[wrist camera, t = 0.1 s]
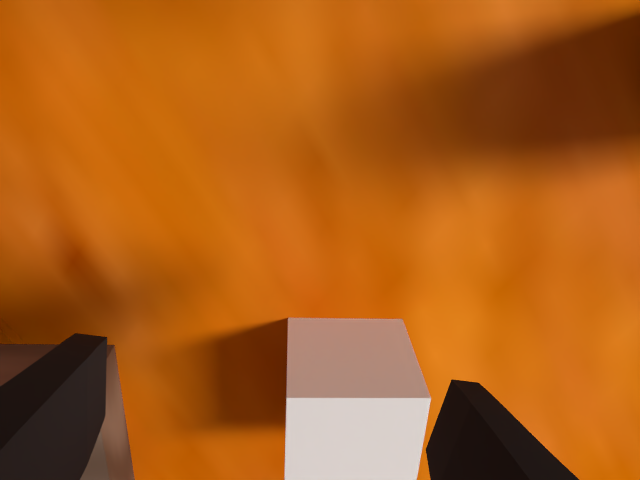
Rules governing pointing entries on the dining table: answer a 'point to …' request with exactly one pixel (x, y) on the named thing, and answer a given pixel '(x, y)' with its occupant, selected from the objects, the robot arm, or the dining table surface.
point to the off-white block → (353, 400)
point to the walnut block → (112, 443)
